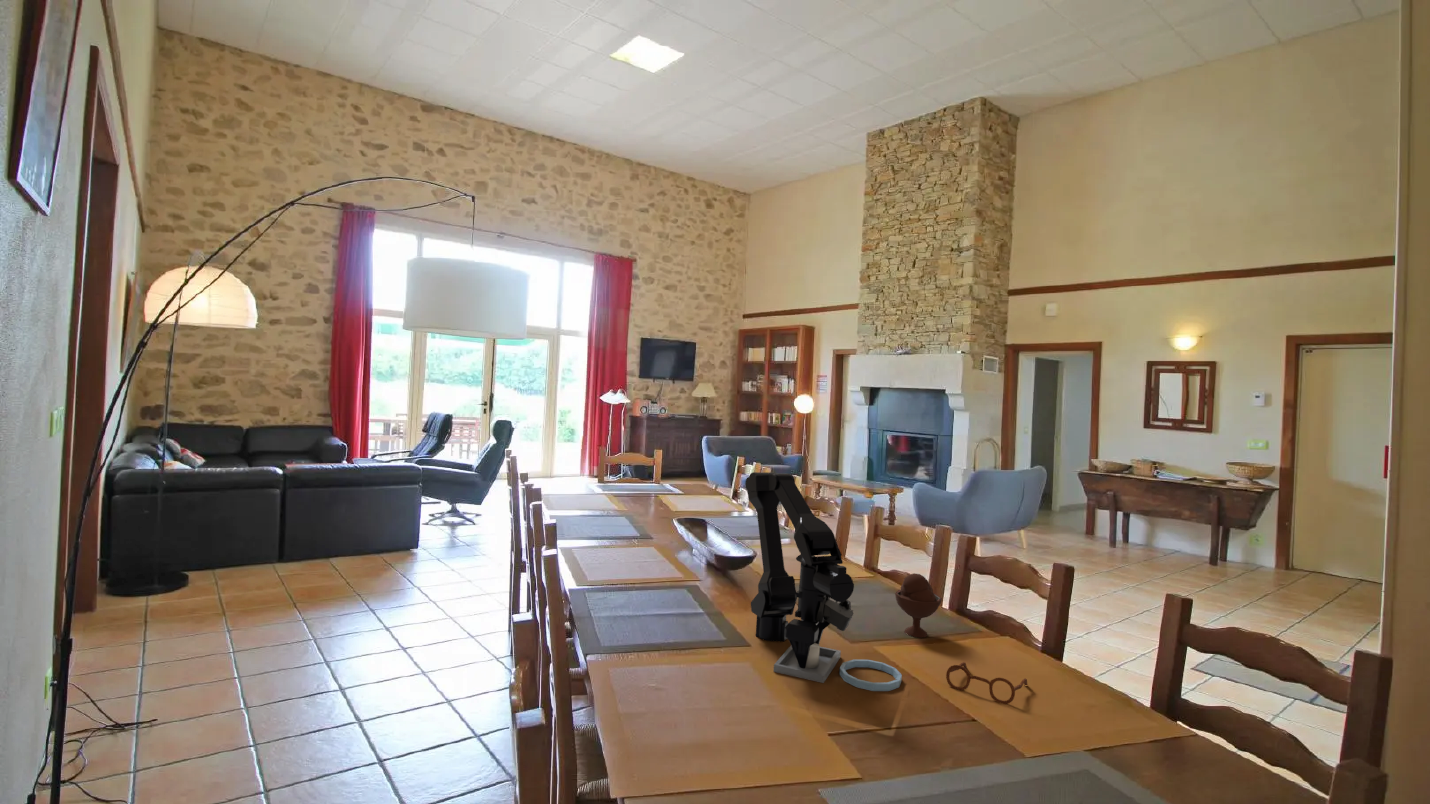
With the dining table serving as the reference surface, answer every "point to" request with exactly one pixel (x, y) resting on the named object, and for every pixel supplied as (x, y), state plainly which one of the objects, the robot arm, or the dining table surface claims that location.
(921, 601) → the ice cream bowl
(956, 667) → the glasses
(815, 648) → the white marshmallow
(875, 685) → the blue ring
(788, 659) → the parts tray
